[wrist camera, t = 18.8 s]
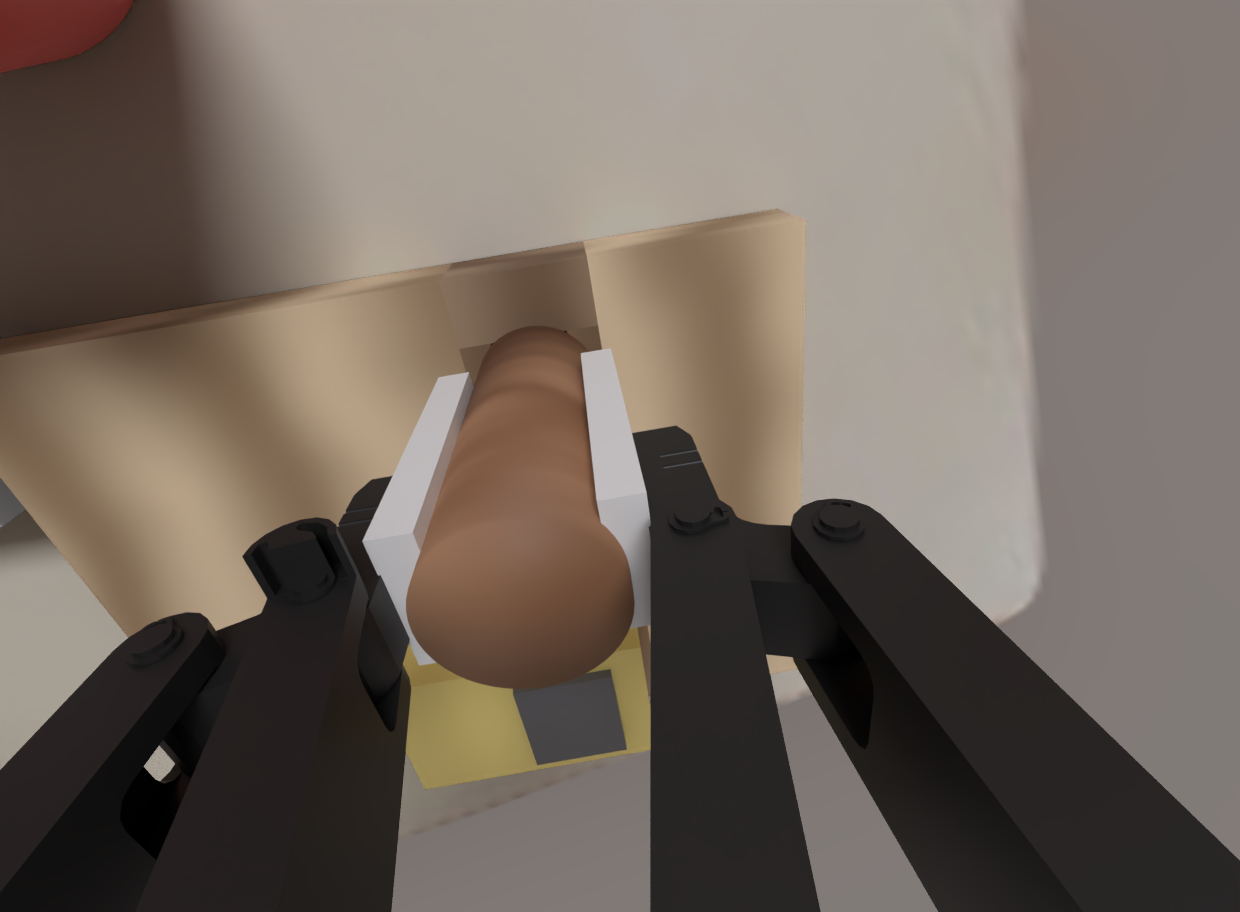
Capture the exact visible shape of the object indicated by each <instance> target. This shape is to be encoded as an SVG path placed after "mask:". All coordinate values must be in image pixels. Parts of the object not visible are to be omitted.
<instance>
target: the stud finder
mask: <svg viewBox="0 0 1240 912" xmlns="http://www.w3.org/2000/svg"><path fill="white" fill-rule="evenodd" d="M403 666H404V668H405V670H406V672H407V674H408V676H409V678H410V684H411V697H410V708H409V719H408V730H407V741H406V754H407V756H408V758H409V760H410V761H411V763H412V765H413V767H414V769H415V771H416V773H417V775H418V777H419V779H420V780H421V782H422V784H423V786H424V788H425V790H426V789H432V788H438V787H443V786H449V785H455V784H460V783H466V782H472V781H477V780H483V779H489V778H494V777H500V776H506V775H511V774H517V773H523V772H528V771H534V770H540V769H545V768H551V767H557V766H562V765H568V764H574V763H579V762H585V761H591V760H597V759H602V758H608V757H614V756H619V755H625V754H631V753H636V752H642V751H648V750H651V707H650V701H649V695H648V689H647V683H646V677H645V671H644V665H643V659H642V653H641V647H640V641H639V635H638V629H637V627H636V628H631V629H629V631H628V633H627V635H626V637H625V638H624V640H623V642H622V643H621V645H620V646H619V647H618V648H617V649H616V651H615V652H614V653H613V654H612V655H611V656H610V657H609V658H608V659H607V660H605V661H604V662H603V663H601V664H600V665H599V666H597V667H596V668H594V669H593V670H591V671H589V672H587V673H586V674H584V675H581V676H579V677H577V678H575V679H572V680H569V681H566V682H563V683H560V684H556V685H551V686H547V687H540V688H530V689H508V688H499V687H492V686H488V685H483V684H479V683H476V682H473V681H470V680H467V679H465V678H462V677H460V676H458V675H456V674H454V673H452V672H450V671H449V670H447V669H445V668H443V667H442V666H441V665H439V664H438V663H432V664H426V665H420V666H419V664H418V662H417V660H416V658H415V655H414V653H413V651H412V649H411V647H410V645H409V644H408V648H407V651H406V655H405V658H404V662H403Z"/></svg>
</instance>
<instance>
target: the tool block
mask: <svg viewBox="0 0 1240 912" xmlns="http://www.w3.org/2000/svg"><path fill="white" fill-rule="evenodd" d="M25 510H26V509H25V508H24V506H23V505H22V504H21V503H20V501H19V500H18V499H17V498H16V496H15V495H14V494H13V493H12V491H11V490H10V489H9V488H8V486H7V485H6V484H5V483H4V481H3V480H2V479H1V478H0V527H3V526H4V525H6V524H7V523H8V522H10V521H11V520H12V519H14V518H15V517H16V516H18V515H19V514H21V513H22V512H23V511H25Z"/></svg>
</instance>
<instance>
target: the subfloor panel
mask: <svg viewBox="0 0 1240 912" xmlns="http://www.w3.org/2000/svg"><path fill="white" fill-rule="evenodd" d="M805 259H806V220H805V219H802V218H799V217H797V216H794V215H791V214H789V213H786V212H784V211H781V210H778V209H774V210H768V211H762V212H756V213H750V214H744V215H738V216H732V217H726V218H720V219H714V220H708V221H702V222H696V223H690V224H684V225H678V226H672V227H666V228H660V229H654V230H648V231H642V232H636V233H630V234H624V235H618V236H612V237H606V238H600V239H594V240H588V241H582V242H576V243H570V244H564V245H558V246H552V247H546V248H540V249H534V250H528V251H522V252H516V253H510V254H504V255H498V256H493V257H487V258H481V259H475V260H469V261H463V262H457V263H451V264H445V265H439V266H433V267H427V268H421V269H415V270H409V271H403V272H397V273H391V274H385V275H379V276H373V277H367V278H361V279H355V280H349V281H343V282H337V283H331V284H325V285H319V286H313V287H307V288H301V289H295V290H289V291H283V292H277V293H271V294H265V295H259V296H253V297H247V298H241V299H235V300H229V301H223V302H217V303H211V304H205V305H199V306H193V307H187V308H181V309H175V310H169V311H163V312H158V313H152V314H146V315H140V316H134V317H128V318H122V319H116V320H110V321H104V322H98V323H92V324H86V325H80V326H74V327H68V328H62V329H56V330H50V331H44V332H38V333H32V334H26V335H20V336H14V337H8V338H2V339H0V478H1V479H2V480H3V481H4V483H5V484H6V485H7V486H8V488H9V489H10V490H11V491H12V493H13V494H14V495H15V496H16V498H17V499H18V500H19V501H20V503H21V504H22V505H23V506H24V508H25V509H26V510H27V511H28V513H29V514H30V515H31V516H32V518H33V519H34V520H35V521H36V523H37V524H38V525H39V526H40V528H41V529H42V530H43V531H44V533H45V534H46V535H47V536H48V538H49V539H50V540H51V541H52V543H53V544H54V545H55V546H56V548H57V549H58V550H59V551H60V553H61V554H62V555H63V556H64V558H65V559H66V560H67V561H68V563H69V564H70V565H71V566H72V568H73V569H74V570H75V572H76V573H77V574H78V575H79V577H80V578H81V579H82V580H83V582H84V583H85V584H86V585H87V587H88V588H89V589H90V590H91V592H92V593H93V594H94V595H95V597H96V598H97V599H98V600H99V602H100V603H101V604H102V605H103V607H104V608H105V609H106V610H107V612H108V613H109V614H110V615H111V617H112V618H113V619H114V620H115V622H116V623H117V624H118V625H119V627H120V628H121V629H122V630H123V632H124V633H125V634H126V635H127V637H128V638H129V637H130V636H132V635H133V634H135V633H137V632H138V631H140V630H141V629H142V628H144V627H145V626H146V625H148V624H150V623H152V622H155V621H156V622H157V621H158V620H159V619H162V618H165V617H168V616H172V615H176V614H181V613H185V612H193V613H201V614H202V615H204V616H205V617H206V618H208V620H209V621H210V623H211V624H212V626H213V627H214V628H215V630H216V631H217V630H220V629H222V628H225V627H228V626H230V625H233V624H235V623H238V622H241V621H243V620H246V619H249V618H251V617H254V616H256V615H259V614H261V612H262V610H263V608H264V605H265V603H266V600H267V597H266V596H265V594H264V592H263V591H262V589H261V587H260V586H259V584H258V582H257V581H256V579H255V577H254V576H253V574H252V572H251V571H250V569H249V567H248V566H247V564H246V562H245V561H244V559H243V557H242V556H243V555H244V553H245V552H246V551H247V550H248V548H249V547H250V546H251V545H252V544H253V543H255V542H256V541H257V540H259V539H260V538H261V537H263V536H264V535H265V534H267V533H269V532H271V531H273V530H275V529H277V528H279V527H281V526H283V525H286V524H289V523H292V522H295V521H298V520H301V519H308V518H315V517H318V518H325V519H330V520H331V521H332V522H333V523H335V524H336V526H337V527H339V522H340V520H341V518H342V516H343V514H346V509H347V507H348V505H349V503H350V502H351V500H352V498H353V496H354V495H355V494H356V493H357V492H358V491H359V490H360V489H361V488H362V487H364V486H365V485H366V484H367V483H368V482H369V481H370V480H372V479H377V478H383V477H389V476H393V474H394V472H395V470H396V468H397V466H398V463H399V461H400V459H401V457H402V455H403V453H404V451H405V448H406V446H407V444H408V442H409V440H410V438H411V436H412V433H413V431H414V429H415V427H416V425H417V423H418V420H419V418H420V416H421V414H422V412H423V410H424V408H425V405H426V403H427V401H428V399H429V397H430V395H431V393H432V390H433V388H434V386H435V384H436V382H437V380H438V378H439V377H443V376H449V375H455V374H461V373H467V372H469V374H470V377H471V381H472V384H473V387H474V384H475V381H476V378H477V375H478V372H479V369H480V365H481V363H482V360H483V358H484V356H485V354H486V352H487V351H488V350H489V348H490V347H491V346H492V345H493V344H494V343H495V342H496V341H497V340H498V339H499V338H501V337H502V336H503V335H505V334H507V333H509V332H511V331H513V330H516V329H519V328H523V327H528V326H546V327H552V328H555V329H559V330H561V331H567V333H568V334H569V335H571V336H573V337H574V338H576V339H577V340H578V341H579V342H581V343H582V344H583V345H584V346H585V348H586V349H587V350H588V351H589V352H591V351H597V350H603V349H609V348H611V351H612V355H613V359H614V363H615V367H616V371H617V375H618V379H619V383H620V387H621V391H622V395H623V399H624V403H625V407H626V411H627V416H628V420H629V424H630V428H631V432H632V433H635V432H641V431H647V430H653V429H659V428H664V427H670V426H678V427H679V428H681V429H683V430H684V431H686V432H687V433H689V434H690V435H691V436H692V438H693V440H694V443H695V445H696V447H697V451H698V452H699V454H700V456H701V459H702V462H703V463H704V466H705V468H706V470H707V472H708V475H709V477H710V479H711V482H712V484H713V486H714V488H715V491H716V493H717V495H718V498H719V500H721V501H723V502H724V503H726V504H727V505H729V506H730V507H732V509H733V511H734V513H735V514H736V516H737V517H738V518H740V519H742V520H745V521H749V522H753V523H758V524H767V525H790V526H791V522H792V518H793V515H794V514H795V513H796V512H797V511H798V510H799V509H800V508H801V486H802V430H803V373H804V316H805ZM637 629H638V635H639V641H640V647H641V653H642V659H643V665H644V671H645V677H646V683H647V689H648V695H649V696H651V625H648V626H642V627H637ZM766 657H767V662H768V667H769V671H770V674H774V673H779V672H785V671H790V670H796V669H798V668H797V666H796V665H795V663H794V661H793V657H785V656H775V655H766Z"/></svg>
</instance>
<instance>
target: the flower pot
mask: <svg viewBox="0 0 1240 912" xmlns="http://www.w3.org/2000/svg"><path fill="white" fill-rule="evenodd" d="M133 1H134V0H0V73H3V72H7V71H11V70H16V69H20V68H24V67H29V66H34V65H39V64H44V63H48V62H52V61H57V60H62V59H66V58H70V57H73V56H76V55H78V54H80V53H83V52H85V51H87V50H88V49H90V48H92V47H93V46H95V45H96V44H98V43H99V42H101V41H102V40H103V39H105V38H106V37H107V36H108V35H110V34H111V33H112V32H113V31H114V30H115V29H116V28H117V26H118V25H119V24H120V23H121V21H122V20H123V19H124V18H125V16H126V14H127V12H128V11H129V9H130V7H131V6H132V4H133Z"/></svg>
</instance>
